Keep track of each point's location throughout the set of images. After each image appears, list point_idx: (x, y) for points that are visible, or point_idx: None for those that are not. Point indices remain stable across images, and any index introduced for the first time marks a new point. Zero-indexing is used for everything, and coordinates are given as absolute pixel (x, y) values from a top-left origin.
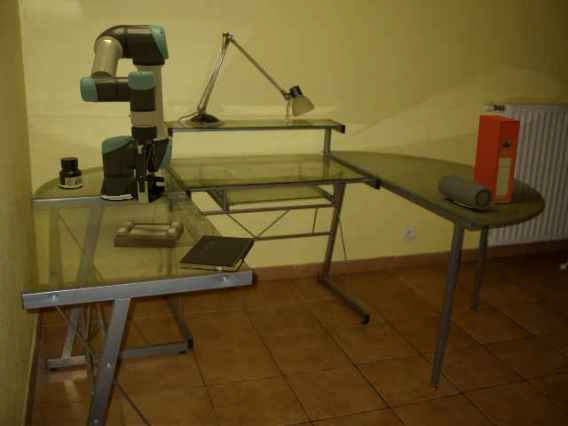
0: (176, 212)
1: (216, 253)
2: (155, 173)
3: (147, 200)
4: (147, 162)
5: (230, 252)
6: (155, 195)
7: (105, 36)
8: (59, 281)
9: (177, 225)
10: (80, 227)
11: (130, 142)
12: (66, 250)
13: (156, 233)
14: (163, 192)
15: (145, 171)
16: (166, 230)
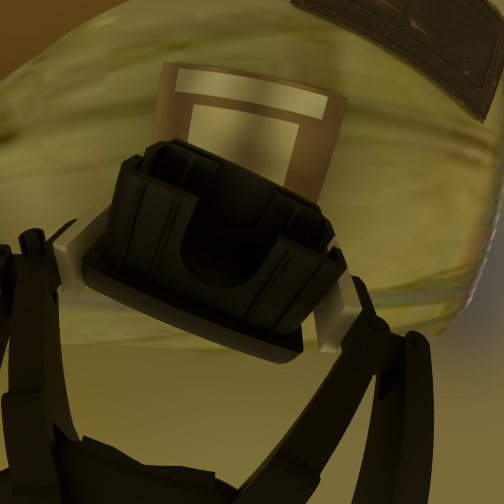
0: (20, 119)
1: (455, 21)
2: (64, 243)
3: (335, 236)
4: (295, 434)
5: None
6: (284, 198)
7: None
8: (435, 322)
9: (242, 77)
10: (141, 322)
11: None
12: None
13: (281, 151)
14: (183, 148)
15: (372, 375)
16: (252, 116)
